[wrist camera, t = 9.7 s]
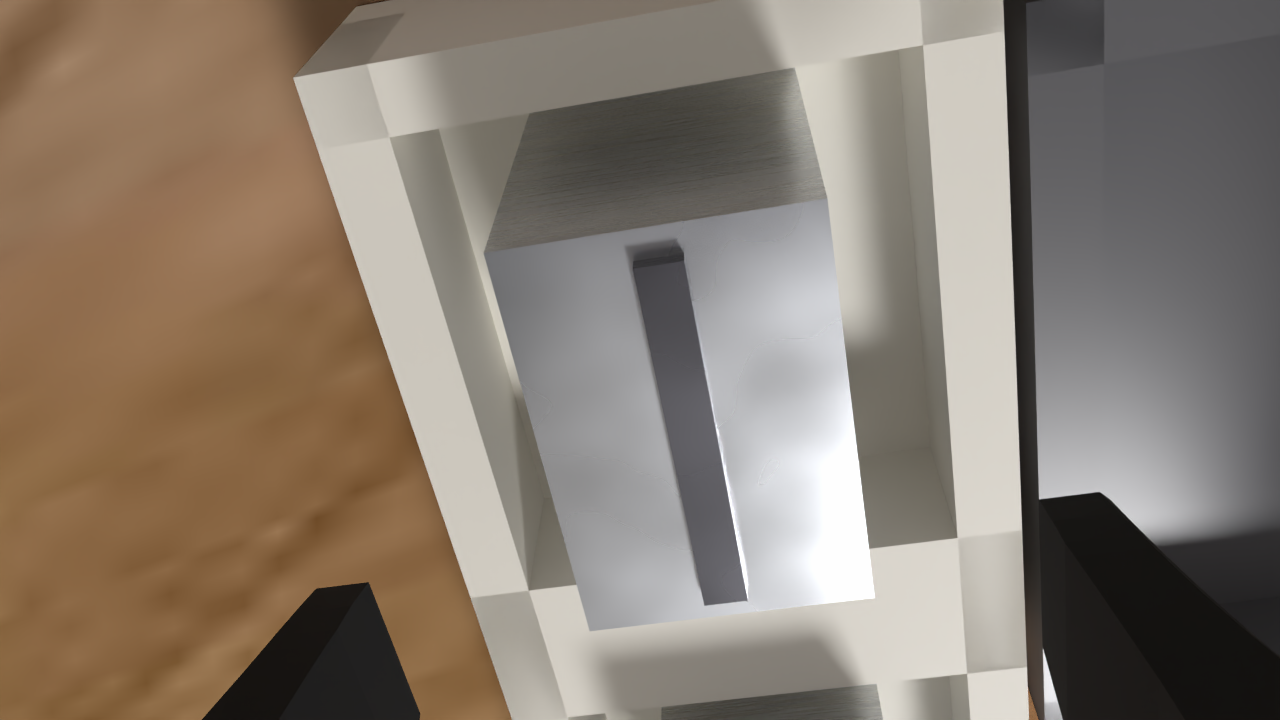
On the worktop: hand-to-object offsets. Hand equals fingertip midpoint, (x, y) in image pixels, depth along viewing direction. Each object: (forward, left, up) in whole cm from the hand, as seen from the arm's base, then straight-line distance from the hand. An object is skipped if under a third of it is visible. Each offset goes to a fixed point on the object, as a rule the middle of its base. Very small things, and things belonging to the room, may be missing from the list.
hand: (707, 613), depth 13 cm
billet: (0, 0, -8) cm, 8 cm away
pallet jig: (-5, 0, -9) cm, 10 cm away
